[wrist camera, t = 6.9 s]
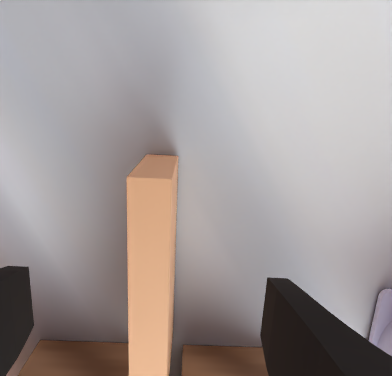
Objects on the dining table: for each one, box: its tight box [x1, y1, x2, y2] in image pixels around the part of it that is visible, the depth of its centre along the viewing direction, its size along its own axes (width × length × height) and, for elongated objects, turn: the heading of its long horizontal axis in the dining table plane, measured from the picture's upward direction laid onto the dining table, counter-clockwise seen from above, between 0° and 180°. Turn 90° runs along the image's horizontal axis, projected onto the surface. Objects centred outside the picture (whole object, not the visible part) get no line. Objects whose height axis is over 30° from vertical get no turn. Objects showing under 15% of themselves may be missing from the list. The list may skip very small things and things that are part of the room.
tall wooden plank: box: [127, 154, 178, 376], centre depth 17 cm, size 2×12×6 cm, turn 177°
